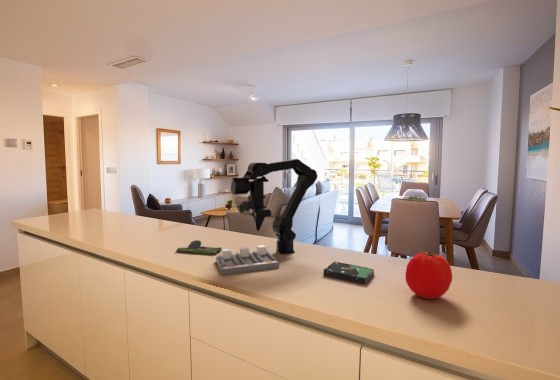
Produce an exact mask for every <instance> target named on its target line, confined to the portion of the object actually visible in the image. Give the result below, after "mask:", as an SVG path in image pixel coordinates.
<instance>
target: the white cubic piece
mask: <svg viewBox="0 0 560 380" xmlns="http://www.w3.org/2000/svg"><path fill="white" fill-rule="evenodd" d="M266 250H267V246H266V245H264V244H261V245H256V252H257V254H258V255H259V256H260V255H266Z"/></svg>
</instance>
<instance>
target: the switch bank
mask: <svg viewBox="0 0 560 380" xmlns="http://www.w3.org/2000/svg"><path fill="white" fill-rule="evenodd" d="M217 255H218V256H215V262H216V265H217V267H218V269H219V272H220V274H221V276H226V275H234V274H241V273H249V272H256V271H264V270H272V269H279V268H280V262H279V261H278V260H277V259H276V258H275V257H274V256H273V255H272V254H271V253H270V252H269V251H268V250H267V249H266V255H260V256H259V255H258V254H257V250H252V252H250V251H249V257H241V256H240V252H236V253H235V254H233V253H232V252H231V259H224V260H223V258H222V254H217Z"/></svg>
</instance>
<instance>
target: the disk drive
mask: <svg viewBox="0 0 560 380" xmlns="http://www.w3.org/2000/svg"><path fill="white" fill-rule="evenodd" d="M374 275H375V270H374V268H370V267H366V266H359V265H355V264H349V263H345V262H339V261H333V262H331V264H329V265H328V266H327V267H326V268H324V269H323V277H328V278H333V279H337V280H341V281H347V282H351V283H356V284H358V285H359V284H360V285H365V286H366V285H367V284H369V282H370V280H371V279H372V278H373V277H374Z"/></svg>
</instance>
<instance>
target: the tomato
mask: <svg viewBox="0 0 560 380" xmlns="http://www.w3.org/2000/svg"><path fill="white" fill-rule="evenodd" d="M404 275H405V282H406V284H407V287H408V288H409V289H410V291H411V292H412V293H414V294H415V295H416V296H418V297H421V298H422V299H423V298H424V299H427V300H430V299H438V298H440V297H442V296H444V294H445V293H447V292H448V291H449V288H450V286H451V284H452V281H453V271H452V268H451V266H450V263H449V261H448V260H447V259H446V258H445V257H444V256H442V255H440V254H438V253H431V251H422V252H417V253H416V254H415V255H414V256H412V257H411V258H410V260H409V261H408V263H407V264H406V269H405V274H404Z"/></svg>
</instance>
